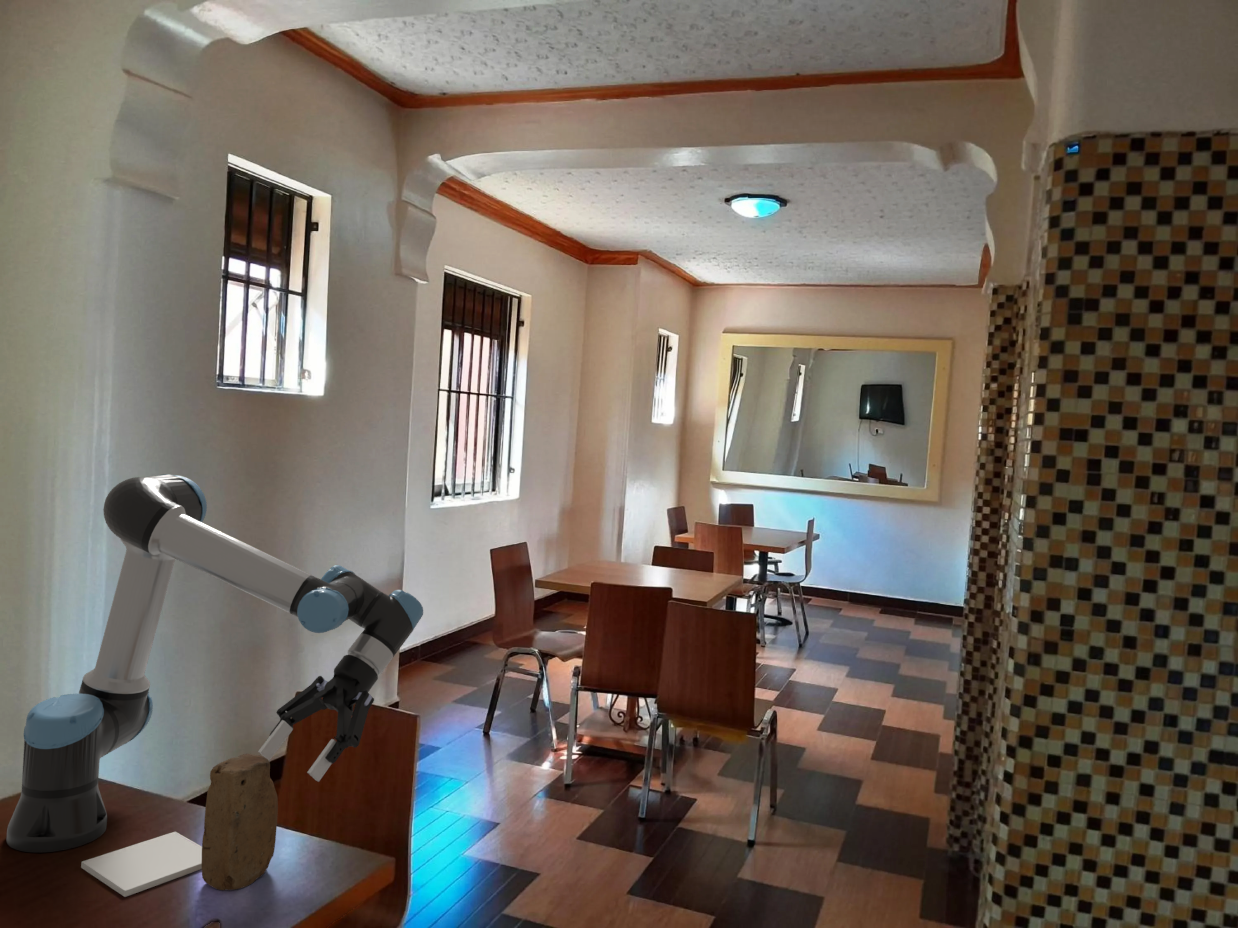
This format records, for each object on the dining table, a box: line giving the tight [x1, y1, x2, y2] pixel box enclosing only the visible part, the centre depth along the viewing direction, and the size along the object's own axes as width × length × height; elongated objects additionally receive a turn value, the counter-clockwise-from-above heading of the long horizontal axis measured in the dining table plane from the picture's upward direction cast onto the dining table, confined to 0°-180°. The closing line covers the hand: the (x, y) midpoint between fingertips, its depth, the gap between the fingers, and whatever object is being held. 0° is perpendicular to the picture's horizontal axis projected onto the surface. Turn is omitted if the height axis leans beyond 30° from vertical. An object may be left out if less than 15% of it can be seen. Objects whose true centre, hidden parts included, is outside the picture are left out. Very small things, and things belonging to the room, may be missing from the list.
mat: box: [80, 831, 202, 898], centre depth 153 cm, size 14×16×1 cm
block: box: [201, 753, 279, 891], centre depth 151 cm, size 11×8×20 cm
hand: (287, 766), depth 156 cm, fingers open, 13 cm apart
